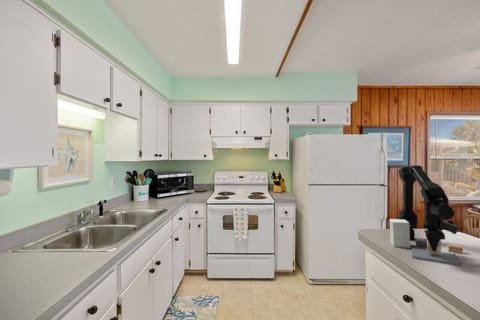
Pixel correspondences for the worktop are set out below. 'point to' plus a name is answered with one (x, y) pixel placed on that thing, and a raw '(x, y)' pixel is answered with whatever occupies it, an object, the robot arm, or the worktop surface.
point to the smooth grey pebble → (421, 243)
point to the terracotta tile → (455, 249)
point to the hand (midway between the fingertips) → (433, 249)
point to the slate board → (435, 257)
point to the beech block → (438, 250)
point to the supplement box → (400, 233)
